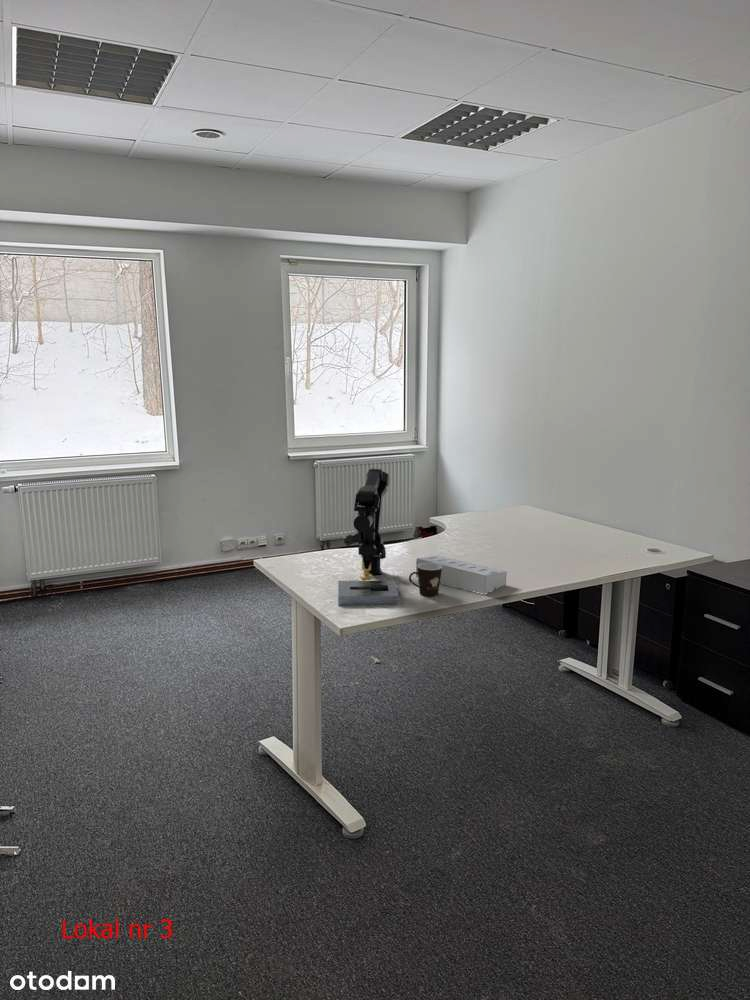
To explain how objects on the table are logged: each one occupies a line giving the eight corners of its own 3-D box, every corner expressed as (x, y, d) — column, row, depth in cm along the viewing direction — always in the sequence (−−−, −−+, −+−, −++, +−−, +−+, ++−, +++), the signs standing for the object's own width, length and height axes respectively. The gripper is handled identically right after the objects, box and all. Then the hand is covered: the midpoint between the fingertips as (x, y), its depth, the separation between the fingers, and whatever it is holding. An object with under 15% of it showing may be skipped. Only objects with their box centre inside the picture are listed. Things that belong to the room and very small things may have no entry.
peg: (359, 576, 253) (360, 551, 251) (372, 576, 253) (372, 551, 251) (360, 580, 249) (360, 554, 247) (372, 580, 249) (372, 554, 247)
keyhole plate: (338, 589, 246) (338, 580, 245) (394, 589, 247) (395, 580, 246) (338, 605, 231) (338, 596, 230) (398, 605, 231) (398, 596, 231)
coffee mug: (439, 589, 247) (440, 562, 245) (442, 598, 239) (443, 570, 237) (406, 589, 247) (407, 562, 245) (408, 598, 238) (409, 570, 236)
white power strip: (505, 586, 253) (506, 566, 251) (484, 596, 242) (485, 575, 241) (438, 569, 272) (439, 550, 270) (416, 577, 261) (416, 558, 260)
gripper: (343, 518, 255) (343, 559, 259) (344, 531, 237) (344, 575, 240) (374, 519, 256) (373, 559, 259) (376, 531, 238) (376, 575, 241)
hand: (366, 567), depth 250 cm, fingers closed on peg, 3 cm apart
